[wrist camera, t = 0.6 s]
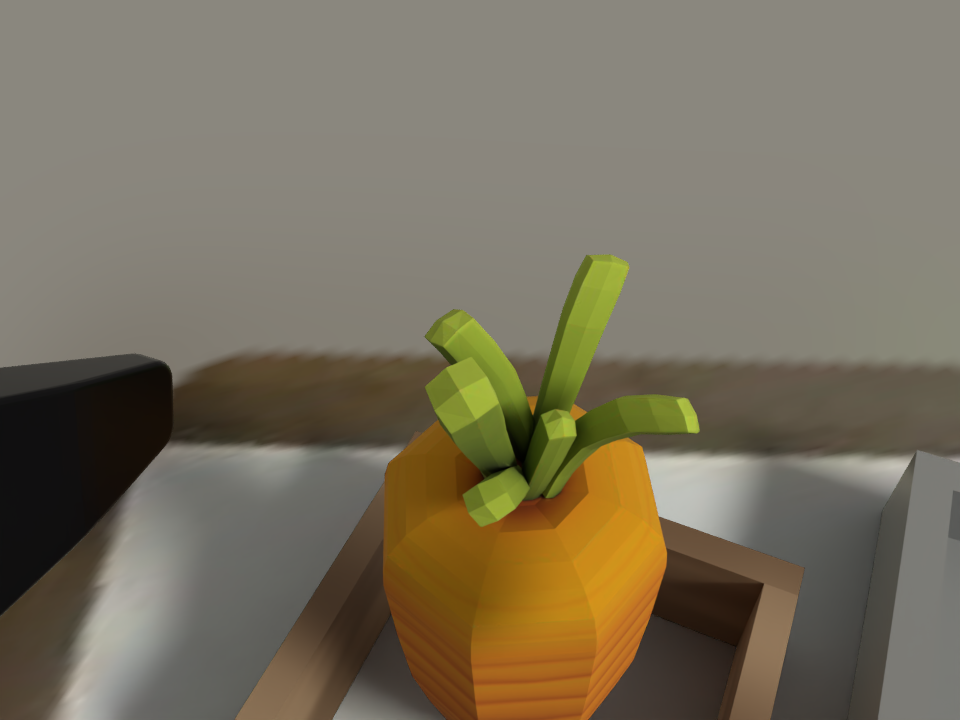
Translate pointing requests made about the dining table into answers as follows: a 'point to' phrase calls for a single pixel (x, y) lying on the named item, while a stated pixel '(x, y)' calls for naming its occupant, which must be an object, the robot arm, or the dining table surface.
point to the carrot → (526, 523)
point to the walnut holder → (681, 599)
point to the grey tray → (914, 602)
